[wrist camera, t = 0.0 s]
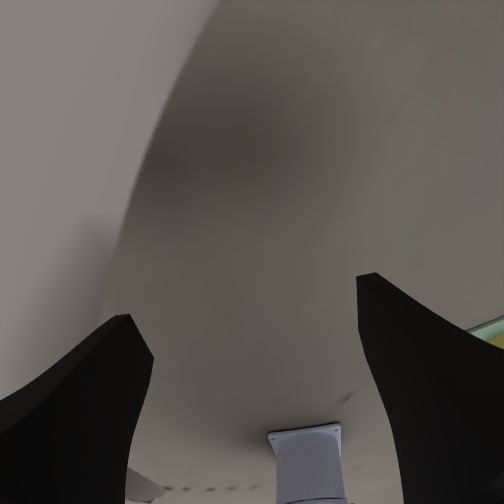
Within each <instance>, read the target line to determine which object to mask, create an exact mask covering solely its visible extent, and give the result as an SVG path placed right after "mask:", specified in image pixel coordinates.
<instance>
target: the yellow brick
mask: <svg viewBox="0 0 504 504" xmlns="http://www.w3.org/2000/svg"><path fill="white" fill-rule="evenodd" d="M486 342H488V343H491V344H493V345H495V346H497V347H500V348H502V349H504V334H501V335H499V336H497V337H495V338H492V339H490V340H488V341H486Z"/></svg>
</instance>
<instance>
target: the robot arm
mask: <svg viewBox="0 0 504 504" xmlns="http://www.w3.org/2000/svg"><path fill="white" fill-rule="evenodd" d="M356 283H357V305H358V331H359V334H360V338H361V342H362V346H363V349H364V353H365V357H366V360H367V362H368V365H369V367H370V370H371V372H372V375H373V378H374V380H375V383H376V385H377V388H378V391H379V393H380V396H381V399H382V401H383V404H384V407H385V409H386V412H387V415H388V418H389V422H390V425H391V428H392V433H393V438H394V442H395V447H396V452H397V457H398V463H399V469H400V475H401V482H402V491H403V499H404V504H504V349H502V348H500V347H497V346H495V345H493V344H491V343H488V342H486V341H484V340H482V339H480V338H478V337H476V336H474V335H472V334H470V333H468V332H466V331H464V330H462V329H461V328H459V327H457V326H455V325H453V324H452V323H450V322H449V321H447V320H445V319H444V318H442V317H440V316H439V315H437V314H435V313H434V312H432V311H431V310H429V309H428V308H426V307H425V306H423V305H422V304H420V303H419V302H417V301H416V300H414V299H413V298H411V297H410V296H409V295H407V294H406V293H404V292H403V291H401V290H400V289H399V288H397V287H396V286H395V285H393V284H392V283H390V282H389V281H388V280H386V279H385V278H383V277H382V276H381V275H379V274H378V273H376V272H375V273H370V274H366V275H361V276H356ZM153 361H154V357H153V355H152V353H151V352H150V350H149V348H148V346H147V345H146V343H145V341H144V339H143V338H142V336H141V334H140V332H139V330H138V328H137V327H136V325H135V323H134V321H133V319H132V317H131V315H130V314H123V315H115V316H114V317H112V318H111V319H109V320H108V321H106V322H105V323H104V324H102V325H101V326H100V327H99V328H97V329H96V330H95V331H94V332H93V333H91V334H90V335H89V336H88V337H86V338H85V339H84V340H83V341H82V342H81V343H80V344H78V345H77V346H76V347H75V348H74V349H72V350H71V351H70V352H69V353H68V354H66V355H65V356H64V357H63V358H62V359H60V360H59V361H58V362H57V363H55V364H54V365H53V366H52V367H51V368H49V369H48V370H47V371H45V372H44V373H43V374H41V375H40V376H39V377H37V378H36V379H34V380H33V381H32V382H30V383H29V384H27V385H26V386H24V387H23V388H21V389H20V390H18V391H16V392H14V393H12V394H11V395H9V396H7V397H6V398H4V399H2V400H0V504H125V483H126V472H127V465H128V458H129V452H130V446H131V442H132V438H133V434H134V431H135V428H136V424H137V421H138V418H139V415H140V412H141V409H142V406H143V403H144V399H145V396H146V393H147V390H148V387H149V383H150V378H151V373H152V367H153ZM268 439H269V441H270V443H271V445H272V448H273V450H274V452H275V454H276V460H277V493H276V504H348V502H347V498H345V492H344V484H343V476H342V469H341V461H340V456H341V426H340V424H339V423H335V424H330V425H324V426H318V427H312V428H306V429H299V430H291V431H283V432H273V433H269V434H268ZM351 504H354V503H351Z"/></svg>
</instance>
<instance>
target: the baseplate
mask: <svg viewBox="0 0 504 504" xmlns="http://www.w3.org/2000/svg"><path fill="white" fill-rule="evenodd" d="M466 332H468V333H470V334H472V335H474V336H476V337H478V338H480V339H482V340H484V341H488V340H490V339H492V338H495V337H497V336H499V335H501V334H504V316H503V317H501V318H498V319H496V320H493V321H491V322H489V323H486V324H483V325H481V326H478V327H476V328H473V329H470V330H468V331H466Z"/></svg>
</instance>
